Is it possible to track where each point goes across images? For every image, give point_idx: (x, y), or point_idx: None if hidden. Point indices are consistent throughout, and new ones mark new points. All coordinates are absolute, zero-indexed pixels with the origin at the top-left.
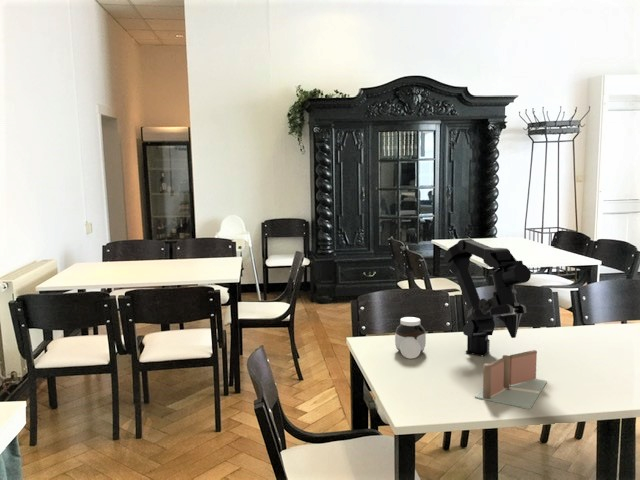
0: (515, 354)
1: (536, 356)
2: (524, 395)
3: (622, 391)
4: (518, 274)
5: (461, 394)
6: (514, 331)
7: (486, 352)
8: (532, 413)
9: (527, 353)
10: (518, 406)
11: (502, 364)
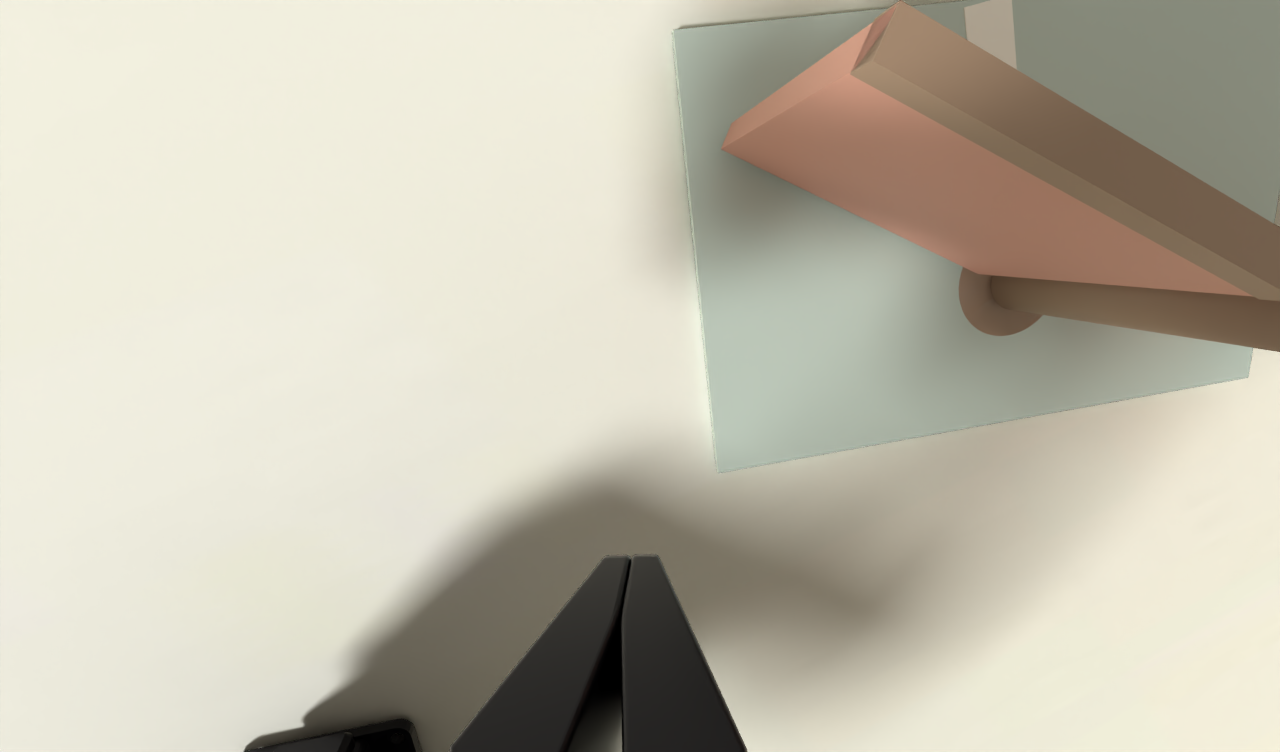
0: (1232, 248)
1: (843, 44)
2: (1101, 92)
3: None
4: None
5: (1217, 464)
6: (701, 652)
7: (352, 739)
8: None
9: (1079, 115)
10: None
11: None
